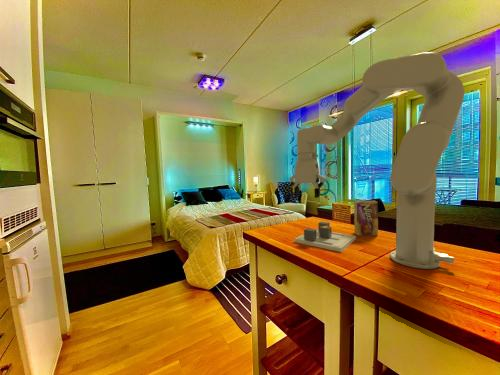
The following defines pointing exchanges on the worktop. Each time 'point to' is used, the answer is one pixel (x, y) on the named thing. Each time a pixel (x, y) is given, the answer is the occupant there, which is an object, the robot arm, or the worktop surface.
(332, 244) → the panel
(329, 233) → the block
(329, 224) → the block
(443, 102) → the robot arm
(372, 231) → the candy box
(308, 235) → the block
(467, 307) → the worktop surface
